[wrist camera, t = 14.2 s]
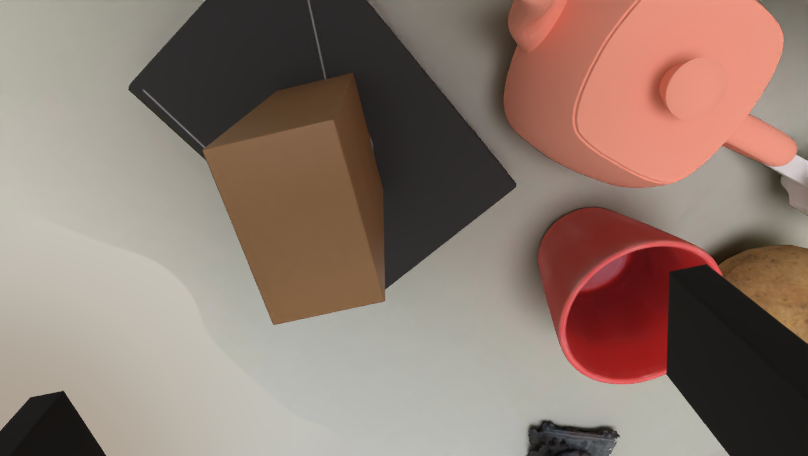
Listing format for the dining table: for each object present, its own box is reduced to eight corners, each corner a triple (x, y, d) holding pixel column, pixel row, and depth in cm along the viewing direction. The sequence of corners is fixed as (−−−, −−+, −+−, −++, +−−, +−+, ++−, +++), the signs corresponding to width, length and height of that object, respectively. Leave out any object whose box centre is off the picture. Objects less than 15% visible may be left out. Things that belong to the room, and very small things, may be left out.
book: (144, 84, 33) (122, 91, 30) (298, -84, 29) (289, -94, 27) (363, 287, 40) (362, 308, 37) (508, 172, 37) (518, 186, 34)
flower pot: (678, 237, 40) (763, 303, 31) (579, 327, 43) (631, 409, 34) (591, 159, 37) (658, 208, 28) (492, 262, 40) (524, 334, 31)
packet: (276, 90, 31) (201, 150, 18) (353, 72, 30) (333, 118, 18) (313, 206, 34) (273, 325, 21) (383, 190, 34) (385, 301, 21)
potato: (621, 331, 43) (670, 397, 36) (734, 201, 38) (817, 245, 31) (701, 371, 46) (762, 439, 38) (817, 252, 41) (913, 305, 33)
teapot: (518, -131, 29) (604, -217, 18) (759, 39, 33) (946, 54, 22) (411, 76, 33) (426, 109, 22) (635, 200, 38) (740, 279, 27)
